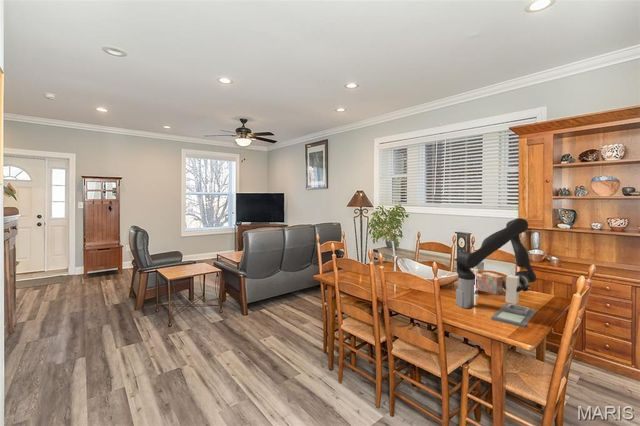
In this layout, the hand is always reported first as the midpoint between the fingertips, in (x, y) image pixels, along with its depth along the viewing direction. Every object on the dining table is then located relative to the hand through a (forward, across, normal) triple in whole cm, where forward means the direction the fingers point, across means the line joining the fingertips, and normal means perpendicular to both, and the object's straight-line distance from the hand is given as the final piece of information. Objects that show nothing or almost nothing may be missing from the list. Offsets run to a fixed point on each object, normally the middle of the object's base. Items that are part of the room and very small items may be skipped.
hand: (511, 289), depth 169 cm
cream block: (-3, 0, +8) cm, 8 cm away
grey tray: (-10, 0, +18) cm, 20 cm away
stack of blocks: (-51, -27, +18) cm, 60 cm away
